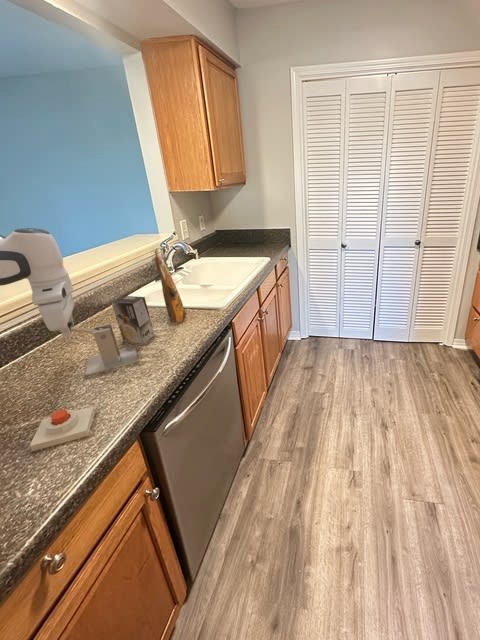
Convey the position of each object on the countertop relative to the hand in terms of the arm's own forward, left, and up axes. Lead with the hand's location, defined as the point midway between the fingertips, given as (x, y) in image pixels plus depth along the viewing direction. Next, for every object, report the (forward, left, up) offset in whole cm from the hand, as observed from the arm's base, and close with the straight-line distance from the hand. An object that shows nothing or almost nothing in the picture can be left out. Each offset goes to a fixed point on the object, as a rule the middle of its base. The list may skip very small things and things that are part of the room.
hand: (69, 331), depth 95 cm
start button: (+1, -27, -11) cm, 29 cm away
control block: (+1, -27, -14) cm, 31 cm away
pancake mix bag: (+28, +29, -14) cm, 43 cm away
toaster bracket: (+8, +1, -14) cm, 16 cm away
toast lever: (+4, 0, -2) cm, 5 cm away
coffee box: (+15, +14, -14) cm, 25 cm away
